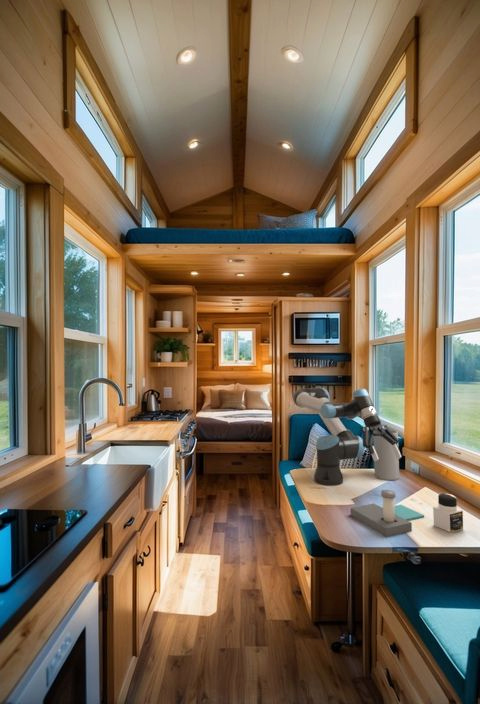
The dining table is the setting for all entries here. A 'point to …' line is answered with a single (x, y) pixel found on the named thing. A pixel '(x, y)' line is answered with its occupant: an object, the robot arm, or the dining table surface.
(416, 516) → the mat
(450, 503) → the medicine bottle
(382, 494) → the plug
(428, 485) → the dining table surface
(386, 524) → the grey socket plate
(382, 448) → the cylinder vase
